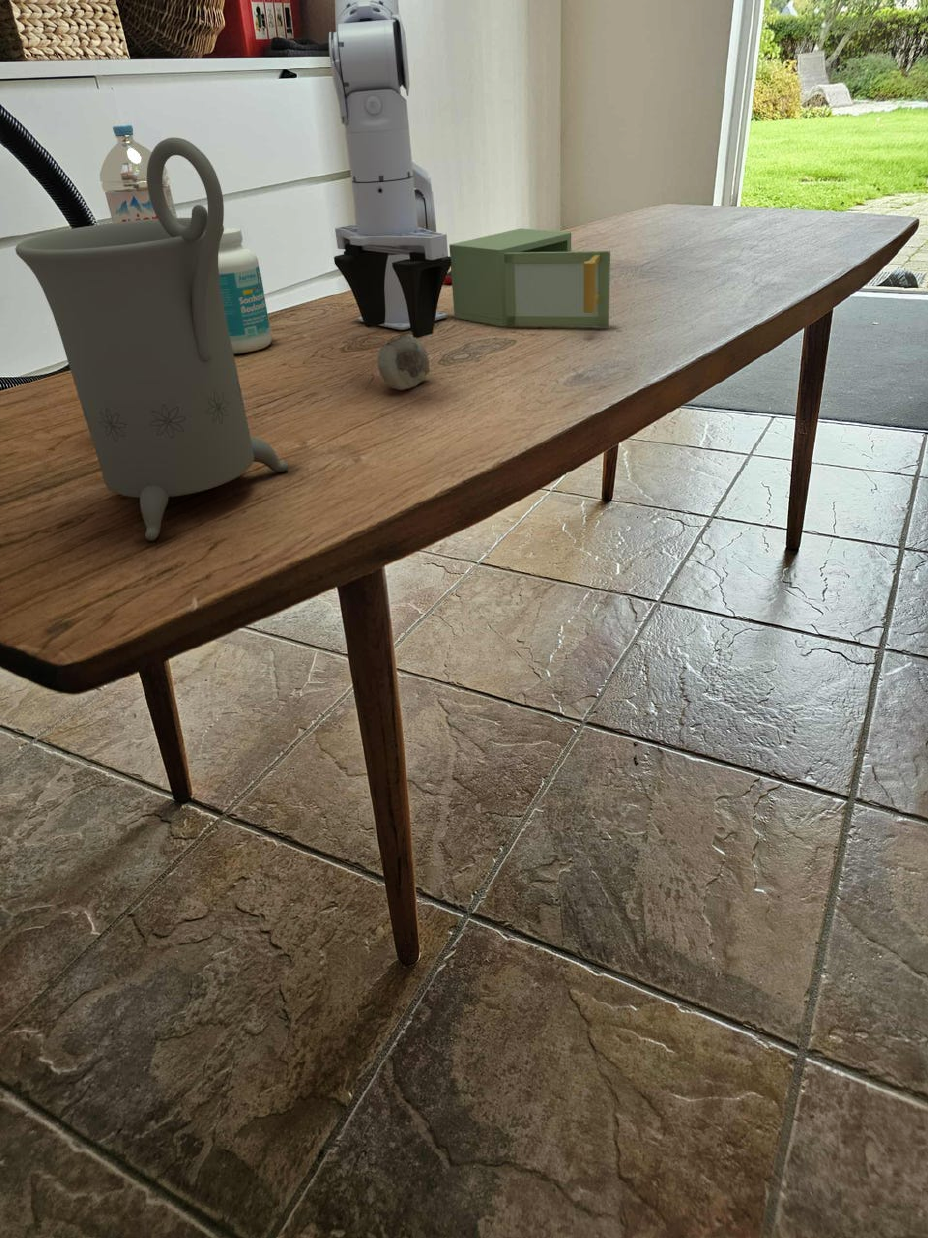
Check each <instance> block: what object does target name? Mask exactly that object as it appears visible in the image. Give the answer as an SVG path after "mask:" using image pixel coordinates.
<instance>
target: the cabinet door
mask: <svg viewBox="0 0 928 1238" xmlns="http://www.w3.org/2000/svg"><path fill="white" fill-rule="evenodd" d="M504 268H505V292H506V316H507V326H506V327H508V326H509V327H511V326H512V327H518V326H519V327H520V326H522V327H595V328H596V327H599V328H600V327H601V328H603V327H604V328H605V327H607V328H608V327H609V325H610V283H611V282H610V280H611V279H610V278H611V277H610V275H611V251H610V250H595V251H594V250H586V251H584V250H581V251H578V250H577V251H571V252H513V253H504Z"/></svg>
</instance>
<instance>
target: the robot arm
mask: <svg viewBox="0 0 928 1238" xmlns="http://www.w3.org/2000/svg"><path fill="white" fill-rule="evenodd" d="M334 15H335V17H334V18H335V20H334V21H335V31H334V32H332V31H329V33H328V54H329V62H330V70H331V76H332V82H333V87H334V90H335V93H336V97H337V102H338V105H339V111H340V112H339V113H340V119H341V124H342V125H343V126H344V127H345V132H344V133H345V141H346V147H347V149H346V150H347V158H348V164H349V173H350V181H351V190H352V196H353V197H352V198H353V211H354V220H355V224H354V225H353V224H352V225H351V224H350V225H344V226H339V227H335V228H334V232H335V238H336V239H335V240H336V245H337V249H339V250H344V251H343V254H339V255H334V256H333V261H334V262H333V263H334V265H335V267H336V268H337V269H338V270H339V272H340V273H341V275H342V276H343V278H344V279H345V281H346V283H347V284H348V286H349V289H350V291H351V292H352V295H353V297H354V300H355V302H356V305H357V308H358V310H359V313H360V316H359V317H357V320H358V322H362V323H363V324H364V326H365V327H366V328H373V327H377V326H380V327H385V328H390V329H394V330H399V331H405V330H409V329H410V331H411V334H412V337H414V338H415V339H420V338H423V337H426V336H429V335H433V334H434V329H435V322H436V321H439V320H442V319H446V318H448V313H447V312H440V311H437V309H438V304H439V298H440V295H441V291H442V288H443V285H444V280H445V277H446V275H447V273H448V272H449V270H450V269H451V257H450V255H449V249H448V238H447V237H448V235H447V233H443V232H437V223H436V212H435V211H436V209H435V199H434V191H433V188H432V187H433V186H432V178H431V177H429V173H428V172H427V171H426V170H425V169H424V168H423V167H421V166H419V165H418V164H417V163H415V162H413V161H412V149H411V136H410V124H409V113H408V104H407V99H406V98H405V97H404V96H403V95H402V91H401V89H402V87H403V88H404V90H405V93H406V96H407V97H408V96H409V93H410V92H409V91H410V71H409V59H408V49H407V38H406V37H407V36H406V31H405V28H404V27H405V26H404V25H403V24H404V23H403V21H402V18H401V14H400V7H399V0H334Z"/></svg>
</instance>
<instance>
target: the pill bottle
mask: <svg viewBox="0 0 928 1238" xmlns="http://www.w3.org/2000/svg"><path fill="white" fill-rule="evenodd" d="M242 243H243V234H242V230H241V229H240V228H238V227H237V228H235V227H229V228H228V227H227V228H224V232H223V235H222V237H221V241H220V245H219V252H218V268H219V278H220V289H221V294H222V300H223V306H224V311H225V316H226V320H227V325H228V330H229V335H230V340H231V345H232V350H233V355H236V354H237V355H238V354H247V353H253V352H256V351H260V350H263V349H265V348H267V347H268V346H269V345H270V344H271V342H272V339H273V338H272V331H271V326H270V325H271V324H270V319H269V314H268V309H267V304H266V303H267V302H266V298H265V292H264V287H263V286H264V285H263V280H262V275H261V267H260V263H259V258H258V256H257V255H256V253H255V252H254V251H252V250H251V249H249V248H245V247H244V246H243V245H242Z"/></svg>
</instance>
